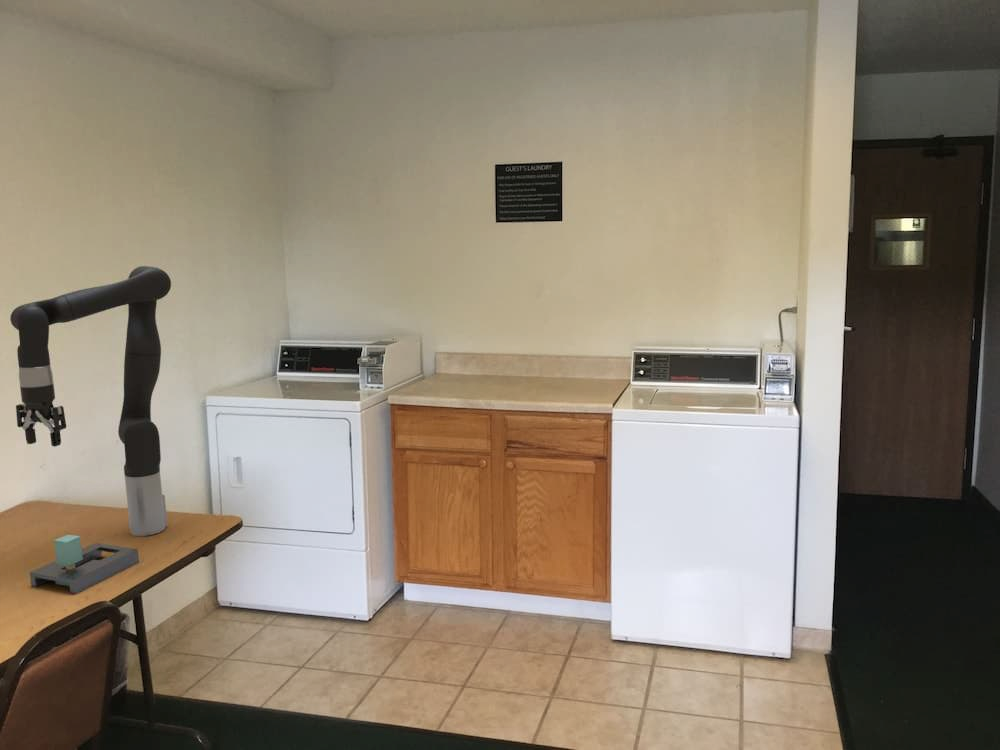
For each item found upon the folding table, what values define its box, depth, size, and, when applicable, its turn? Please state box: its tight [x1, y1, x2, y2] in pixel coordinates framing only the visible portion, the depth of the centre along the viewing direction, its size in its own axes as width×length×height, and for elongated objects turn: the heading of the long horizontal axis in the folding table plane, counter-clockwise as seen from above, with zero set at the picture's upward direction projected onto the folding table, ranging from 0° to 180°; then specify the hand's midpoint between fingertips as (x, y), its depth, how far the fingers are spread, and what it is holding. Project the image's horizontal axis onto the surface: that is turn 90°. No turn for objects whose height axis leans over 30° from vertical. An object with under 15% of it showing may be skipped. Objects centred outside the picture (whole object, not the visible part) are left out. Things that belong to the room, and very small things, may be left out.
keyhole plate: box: [29, 542, 140, 595], centre depth 205 cm, size 20×14×4 cm
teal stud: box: [53, 534, 83, 587], centre depth 200 cm, size 5×5×11 cm
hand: (43, 444), depth 213 cm, fingers open, 8 cm apart
